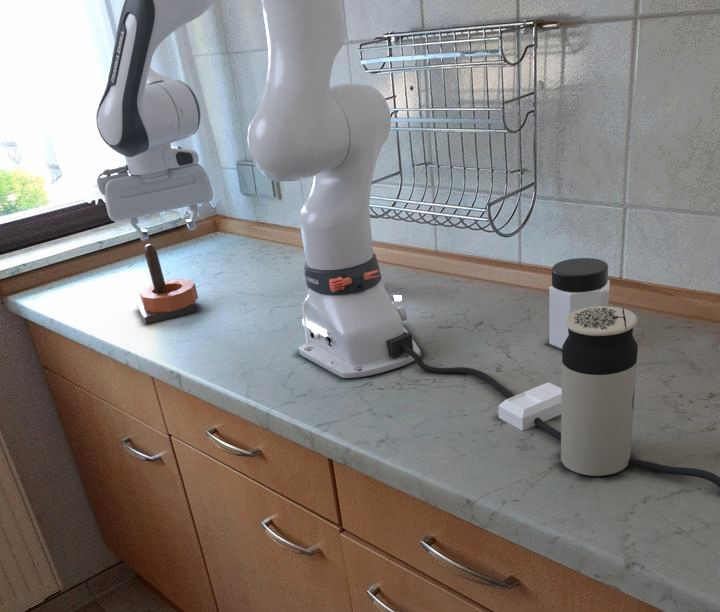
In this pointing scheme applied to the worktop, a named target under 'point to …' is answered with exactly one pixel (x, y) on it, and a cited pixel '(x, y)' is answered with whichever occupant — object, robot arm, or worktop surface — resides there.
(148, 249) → the peg stand
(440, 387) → the worktop surface
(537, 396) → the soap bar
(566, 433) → the travel mug
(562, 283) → the jar
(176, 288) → the ring
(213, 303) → the worktop surface
